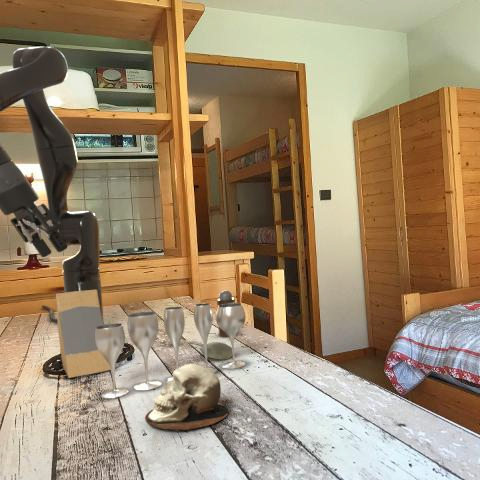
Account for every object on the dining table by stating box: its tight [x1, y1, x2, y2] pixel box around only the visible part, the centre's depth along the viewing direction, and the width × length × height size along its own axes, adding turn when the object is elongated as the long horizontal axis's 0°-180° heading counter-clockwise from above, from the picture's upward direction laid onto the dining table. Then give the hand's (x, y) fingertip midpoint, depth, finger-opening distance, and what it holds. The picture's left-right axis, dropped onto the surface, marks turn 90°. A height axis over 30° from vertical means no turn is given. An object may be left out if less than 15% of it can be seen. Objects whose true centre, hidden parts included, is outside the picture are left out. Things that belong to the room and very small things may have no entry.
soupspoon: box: [169, 339, 233, 360], centre depth 115 cm, size 22×3×7 cm
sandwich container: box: [55, 290, 111, 379], centre depth 108 cm, size 9×15×15 cm, turn 31°
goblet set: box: [95, 302, 247, 400], centre depth 96 cm, size 28×6×13 cm, turn 126°
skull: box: [144, 363, 229, 432], centre depth 77 cm, size 12×10×10 cm
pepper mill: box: [216, 289, 236, 338], centre depth 129 cm, size 4×4×11 cm
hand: (55, 252), depth 113 cm, fingers open, 8 cm apart
